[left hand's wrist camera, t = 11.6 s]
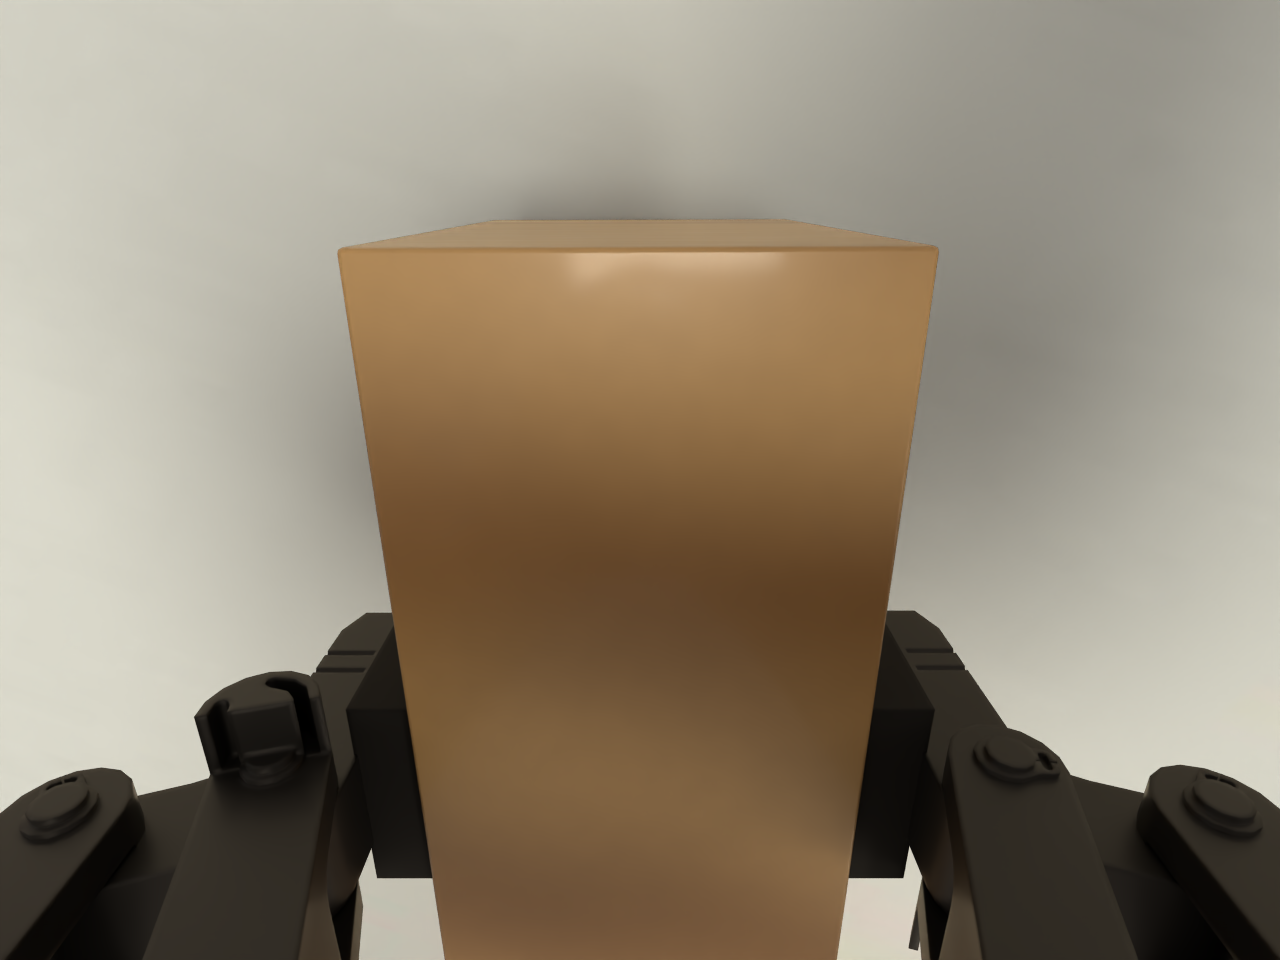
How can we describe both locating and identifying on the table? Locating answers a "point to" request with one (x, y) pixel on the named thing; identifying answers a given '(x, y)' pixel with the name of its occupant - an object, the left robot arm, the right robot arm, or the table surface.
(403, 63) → the table surface
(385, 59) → the table surface
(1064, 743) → the table surface
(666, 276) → the bar
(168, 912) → the left robot arm
